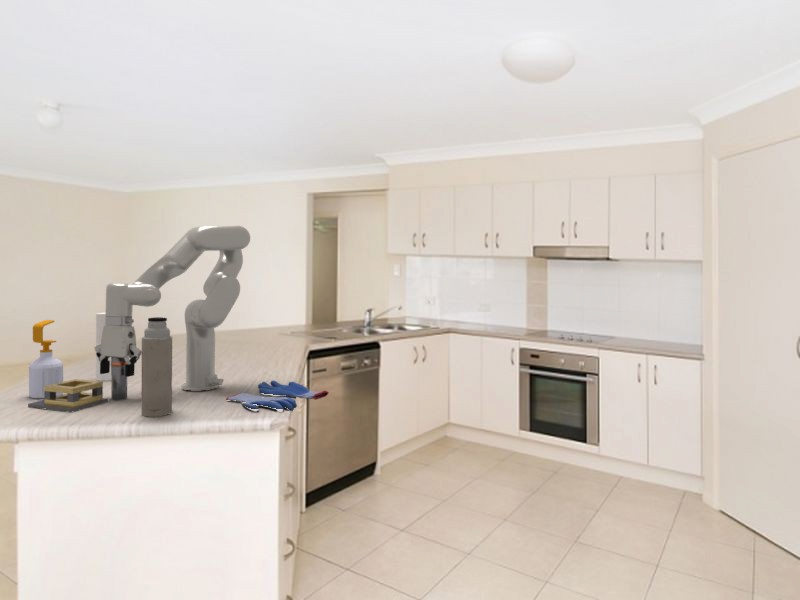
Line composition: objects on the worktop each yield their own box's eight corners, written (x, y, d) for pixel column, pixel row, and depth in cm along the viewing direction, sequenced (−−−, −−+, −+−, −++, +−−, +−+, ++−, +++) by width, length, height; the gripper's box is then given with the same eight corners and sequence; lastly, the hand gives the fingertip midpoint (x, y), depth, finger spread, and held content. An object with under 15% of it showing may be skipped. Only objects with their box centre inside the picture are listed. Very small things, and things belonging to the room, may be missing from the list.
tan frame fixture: (107, 401, 156) (107, 381, 156) (71, 412, 144) (70, 389, 143) (67, 397, 160) (67, 377, 160) (28, 407, 148) (27, 385, 147)
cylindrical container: (107, 381, 184) (107, 314, 183) (91, 380, 186) (91, 313, 185) (122, 377, 191) (122, 313, 190) (106, 376, 193) (106, 312, 192)
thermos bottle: (136, 416, 141) (136, 318, 139) (148, 409, 149) (148, 316, 147) (165, 417, 141) (166, 319, 140) (176, 409, 149) (176, 316, 148)
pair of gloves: (276, 417, 145) (276, 405, 145) (211, 406, 156) (211, 394, 156) (335, 395, 174) (335, 385, 174) (277, 386, 185) (277, 377, 185)
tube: (131, 397, 162) (131, 354, 162) (119, 400, 158) (119, 356, 157) (119, 396, 163) (119, 353, 163) (107, 399, 159) (107, 355, 158)
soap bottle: (69, 393, 165) (69, 320, 163) (42, 400, 156) (41, 322, 155) (50, 391, 168) (50, 318, 166) (22, 397, 159) (21, 320, 158)
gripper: (150, 322, 161) (148, 375, 161) (106, 319, 165) (104, 370, 166) (132, 324, 153) (130, 379, 154) (86, 320, 158) (85, 374, 158)
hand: (117, 374), depth 160 cm, fingers open, 9 cm apart
